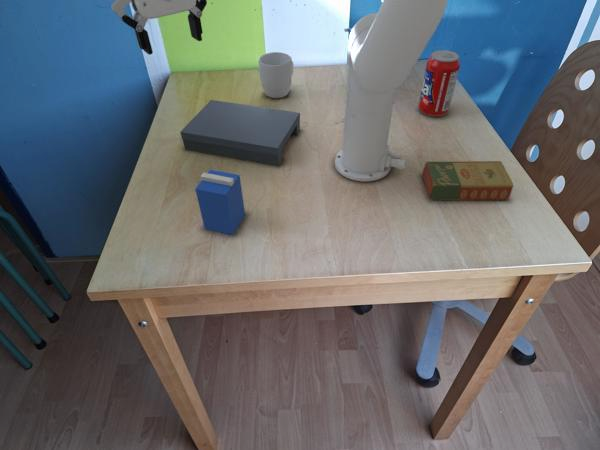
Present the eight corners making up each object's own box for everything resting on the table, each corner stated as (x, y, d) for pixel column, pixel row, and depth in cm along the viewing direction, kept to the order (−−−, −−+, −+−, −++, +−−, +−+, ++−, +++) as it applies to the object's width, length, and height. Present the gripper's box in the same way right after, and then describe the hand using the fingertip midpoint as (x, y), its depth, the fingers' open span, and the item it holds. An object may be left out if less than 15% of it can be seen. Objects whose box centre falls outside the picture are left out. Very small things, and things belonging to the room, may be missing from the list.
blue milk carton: (245, 214, 85) (239, 170, 77) (233, 235, 80) (225, 190, 73) (218, 209, 86) (209, 164, 78) (204, 228, 82) (193, 184, 74)
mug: (281, 103, 117) (279, 68, 110) (255, 96, 120) (251, 61, 113) (305, 85, 125) (304, 51, 118) (279, 78, 128) (278, 45, 121)
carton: (508, 201, 86) (515, 185, 83) (428, 201, 87) (432, 184, 84) (495, 176, 92) (502, 159, 89) (421, 175, 93) (425, 159, 90)
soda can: (447, 120, 109) (462, 63, 99) (416, 116, 111) (427, 60, 100) (448, 106, 115) (462, 50, 104) (418, 102, 116) (429, 47, 106)
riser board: (300, 130, 107) (299, 112, 103) (278, 166, 96) (277, 148, 92) (213, 117, 112) (210, 99, 109) (184, 149, 101) (180, 131, 98)
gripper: (100, -54, 60) (135, 64, 72) (209, -71, 67) (224, 40, 79) (84, -63, 64) (119, 51, 76) (188, -77, 71) (205, 28, 83)
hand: (173, 45), depth 78 cm, fingers open, 9 cm apart
